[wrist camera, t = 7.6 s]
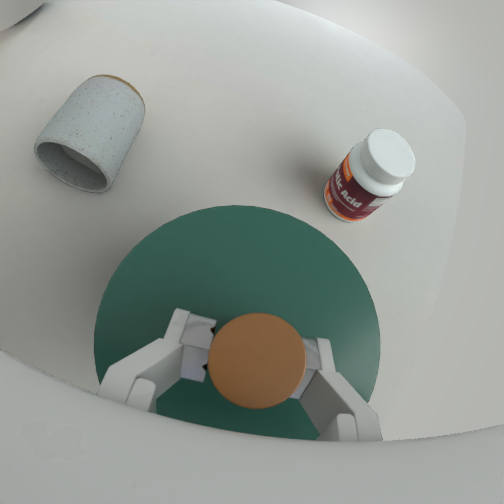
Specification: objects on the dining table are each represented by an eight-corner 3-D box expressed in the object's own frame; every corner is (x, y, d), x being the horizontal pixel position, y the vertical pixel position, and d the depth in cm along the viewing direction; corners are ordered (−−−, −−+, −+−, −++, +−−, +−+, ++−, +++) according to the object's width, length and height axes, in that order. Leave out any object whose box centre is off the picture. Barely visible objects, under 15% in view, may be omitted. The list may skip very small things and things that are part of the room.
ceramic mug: (156, 125, 26) (143, 66, 19) (121, 200, 24) (90, 150, 16) (71, 114, 26) (45, 66, 18) (34, 180, 23) (-6, 138, 16)
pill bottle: (313, 185, 26) (349, 130, 18) (353, 170, 27) (394, 118, 19) (339, 232, 26) (388, 190, 18) (378, 213, 27) (430, 171, 19)
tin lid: (337, 481, 12) (395, 538, 6) (86, 436, 11) (22, 481, 5) (381, 248, 16) (455, 203, 10) (143, 191, 15) (111, 114, 9)
